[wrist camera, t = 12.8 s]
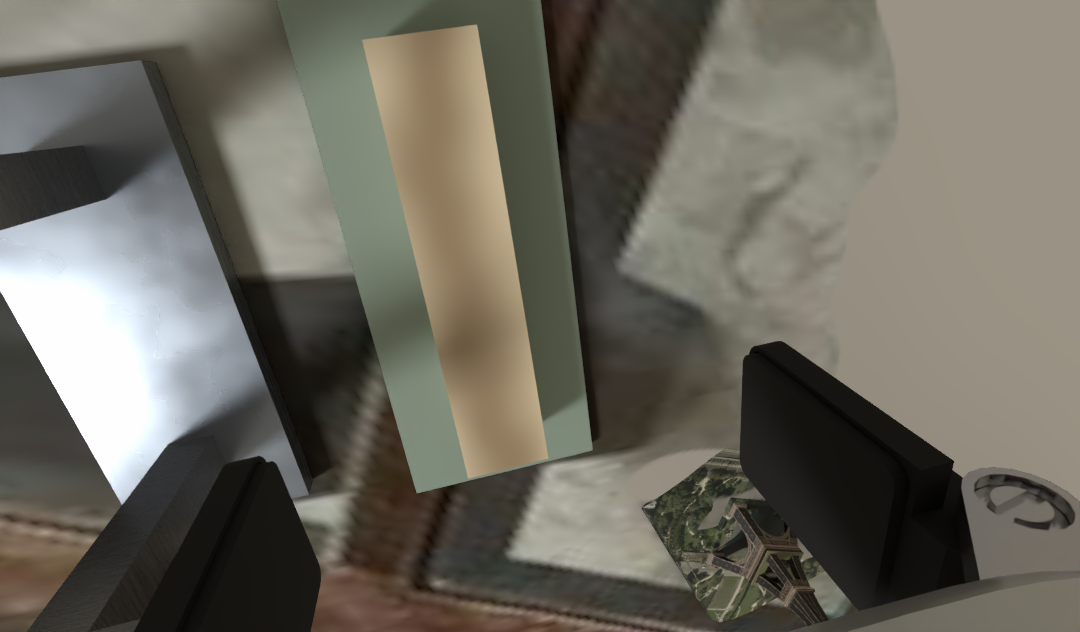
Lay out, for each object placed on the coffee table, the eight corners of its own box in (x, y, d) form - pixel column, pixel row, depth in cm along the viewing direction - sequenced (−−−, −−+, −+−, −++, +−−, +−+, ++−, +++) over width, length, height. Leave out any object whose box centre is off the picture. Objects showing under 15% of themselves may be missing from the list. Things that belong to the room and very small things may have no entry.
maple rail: (469, 34, 21) (477, 24, 19) (536, 425, 29) (548, 458, 26) (369, 48, 21) (361, 39, 18) (463, 442, 28) (468, 478, 26)
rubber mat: (532, -42, 21) (535, -46, 21) (589, 444, 31) (592, 450, 30) (275, -13, 20) (271, -17, 20) (416, 486, 29) (416, 493, 29)
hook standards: (156, 62, 20) (-404, -30, 6) (313, 479, 28) (209, 835, 14) (-83, 92, 19) (-1358, 56, 5) (150, 517, 27) (-131, 943, 13)
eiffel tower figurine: (633, 500, 34) (753, 723, 22) (770, 418, 34) (969, 595, 21) (714, 626, 40) (843, 855, 28) (830, 557, 40) (1010, 756, 28)
